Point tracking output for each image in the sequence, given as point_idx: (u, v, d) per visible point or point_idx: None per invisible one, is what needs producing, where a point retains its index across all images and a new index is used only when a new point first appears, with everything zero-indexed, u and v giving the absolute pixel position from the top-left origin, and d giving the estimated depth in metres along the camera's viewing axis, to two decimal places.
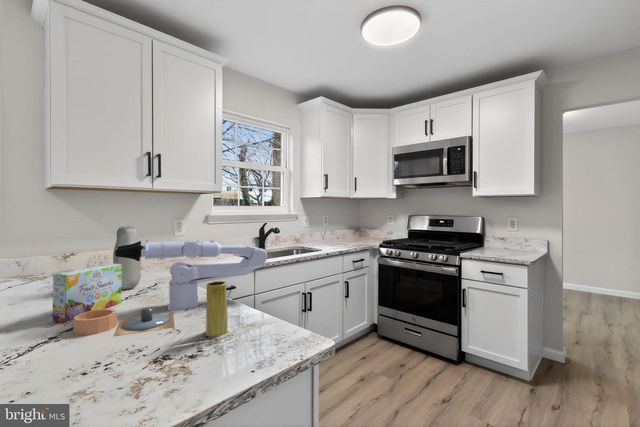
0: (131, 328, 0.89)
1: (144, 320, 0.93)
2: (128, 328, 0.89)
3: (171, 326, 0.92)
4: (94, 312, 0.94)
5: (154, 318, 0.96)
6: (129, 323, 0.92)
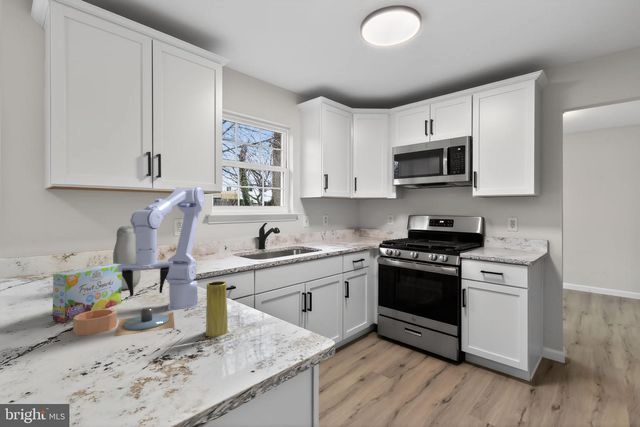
0: (131, 328, 0.89)
1: (144, 320, 0.93)
2: (128, 328, 0.89)
3: (171, 326, 0.92)
4: (94, 312, 0.94)
5: (154, 318, 0.96)
6: (129, 323, 0.92)
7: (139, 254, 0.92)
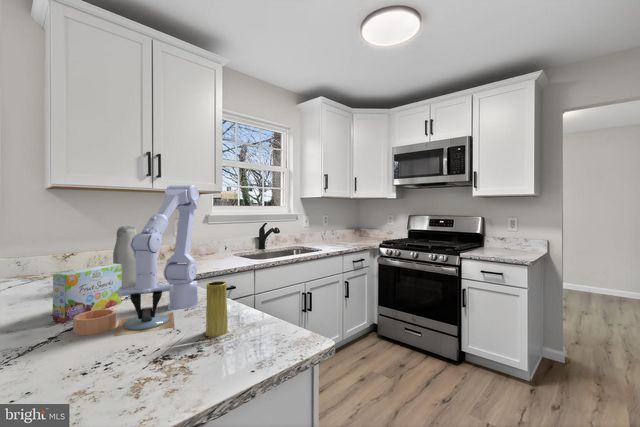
0: (131, 328, 0.89)
1: (144, 320, 0.93)
2: (128, 328, 0.89)
3: (171, 326, 0.92)
4: (94, 312, 0.94)
5: (154, 318, 0.96)
6: (129, 323, 0.92)
7: (139, 278, 0.92)
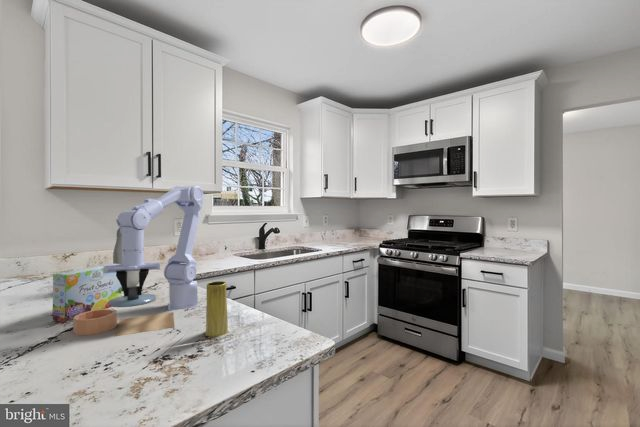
0: (117, 305, 0.88)
1: (130, 298, 0.92)
2: (114, 305, 0.88)
3: (171, 326, 0.92)
4: (94, 312, 0.94)
5: (141, 297, 0.95)
6: (115, 301, 0.91)
7: (125, 255, 0.91)
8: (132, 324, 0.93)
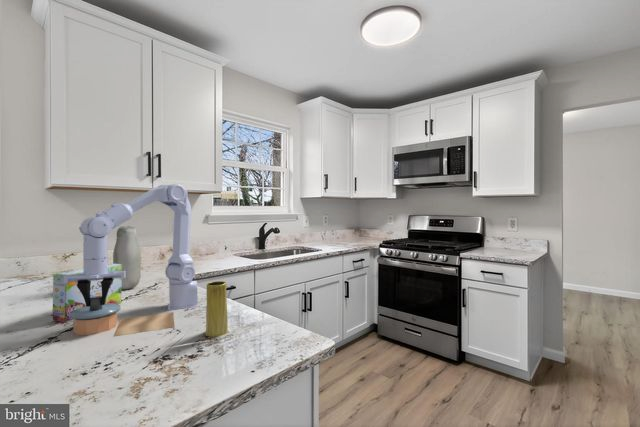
0: (76, 317, 0.85)
1: (92, 309, 0.89)
2: (73, 317, 0.85)
3: (171, 326, 0.92)
4: None
5: (104, 307, 0.92)
6: (76, 312, 0.88)
7: (86, 264, 0.88)
8: (132, 324, 0.93)
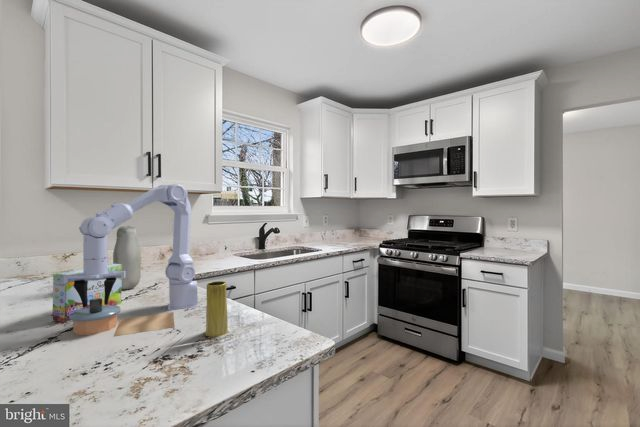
0: (76, 319, 0.85)
1: (92, 311, 0.89)
2: (73, 319, 0.85)
3: (171, 326, 0.92)
4: None
5: (104, 309, 0.92)
6: (76, 314, 0.88)
7: (86, 264, 0.88)
8: (132, 324, 0.93)
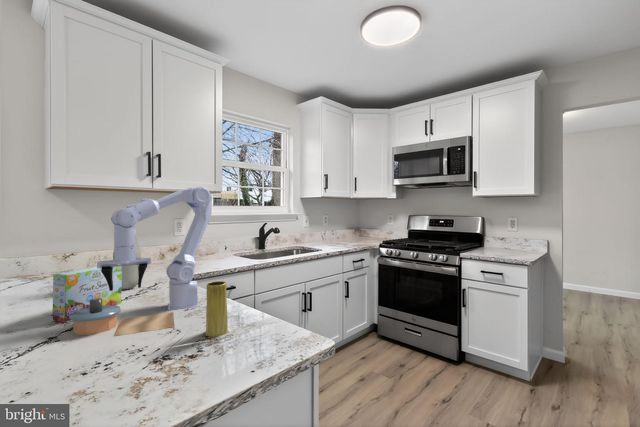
0: (76, 319, 0.85)
1: (92, 311, 0.89)
2: (73, 319, 0.85)
3: (171, 326, 0.92)
4: None
5: (104, 309, 0.92)
6: (76, 314, 0.88)
7: (117, 251, 0.97)
8: (132, 324, 0.93)
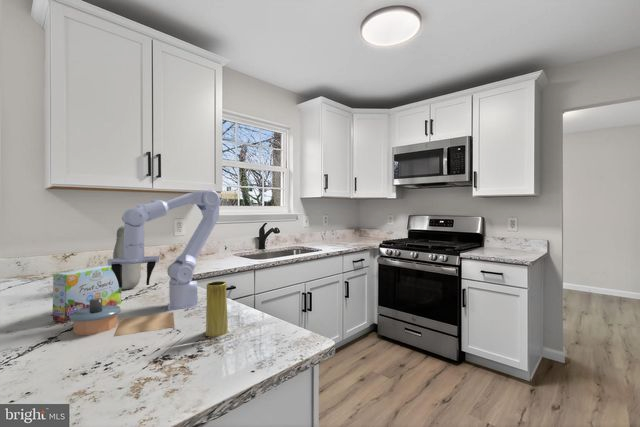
0: (76, 319, 0.85)
1: (92, 311, 0.89)
2: (73, 319, 0.85)
3: (171, 326, 0.92)
4: None
5: (104, 309, 0.92)
6: (76, 314, 0.88)
7: (127, 249, 1.00)
8: (132, 324, 0.93)
